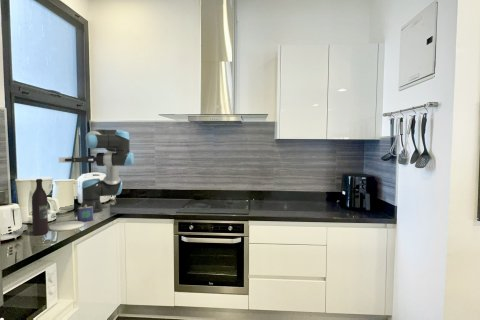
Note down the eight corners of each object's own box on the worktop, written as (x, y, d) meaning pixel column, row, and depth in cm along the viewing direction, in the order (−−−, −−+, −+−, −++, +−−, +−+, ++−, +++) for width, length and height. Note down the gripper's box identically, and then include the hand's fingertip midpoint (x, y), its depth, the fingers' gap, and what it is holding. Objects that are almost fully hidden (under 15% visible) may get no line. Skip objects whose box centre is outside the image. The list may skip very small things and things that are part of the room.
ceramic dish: (56, 223, 188) (56, 221, 188) (87, 222, 191) (87, 220, 191) (43, 231, 170) (43, 229, 170) (78, 230, 174) (78, 228, 174)
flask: (92, 219, 198) (92, 203, 198) (94, 220, 196) (93, 204, 196) (77, 222, 192) (76, 205, 191) (78, 223, 190) (78, 206, 189)
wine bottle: (39, 236, 162) (38, 180, 161) (29, 234, 164) (27, 179, 163) (51, 232, 169) (49, 178, 168) (41, 231, 171) (39, 178, 169)
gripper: (98, 167, 160) (54, 167, 156) (110, 164, 184) (72, 165, 181) (98, 152, 160) (54, 153, 156) (109, 152, 184) (71, 152, 180)
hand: (63, 159), depth 168 cm, fingers open, 13 cm apart
